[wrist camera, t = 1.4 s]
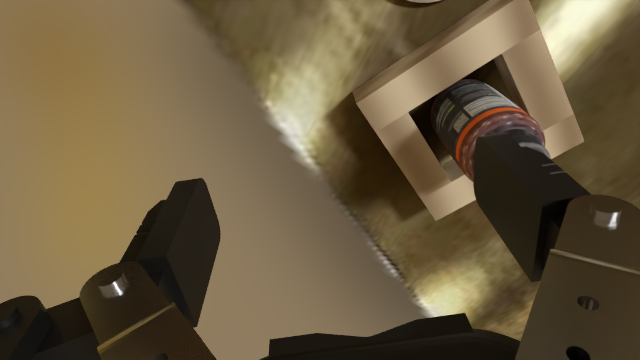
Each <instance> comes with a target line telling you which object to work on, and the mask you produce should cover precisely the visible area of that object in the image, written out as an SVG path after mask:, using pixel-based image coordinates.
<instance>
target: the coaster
mask: <svg viewBox="0 0 640 360" xmlns="http://www.w3.org/2000/svg"><path fill="white" fill-rule="evenodd" d="M408 1H411V2H418V3H430V2H436V1H440V0H408Z"/></svg>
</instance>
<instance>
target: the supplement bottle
mask: <svg viewBox="0 0 640 360" xmlns="http://www.w3.org/2000/svg"><path fill="white" fill-rule="evenodd" d="M430 121H431V125H432V128H433V130H434V132H435V133H436V135H437V137H438V138H439V139H440V141H441V142H442V143H443V145H444V146H445V148H446V149H447V151H448V152H449V153H450V155H451V156H452V157H453V159H454V160H455V162H456V163H457V165H458V166H459V168H460V169H461V170H462V171H463V173H464V174H465V175H466V176H467V177H468V178H469V179H470V180H471V181H472V182H473V181H474V158H475V142H476V139H477V138H478V137H480V136H486V135H493V134H500V133H507V134H508V135H509V136H510V137H511V138H512V139H513V140H515V141H516V142H517V143H518V144H519V145H520V146H521V147H526V146H527V147H529V148H532V149H534V150H537V151H539V152H541V153H544V154H545V155H546V156H547V157H548V158H550V159H551V157H550V154H549V152H548V150H547V149H546V148H545V142H546V141H545V135H544V132H543V130H542V128H541V127H540V125H539V124H538V123H537V121H536V120H535V119H533V118H532V117H531V116H530V115H528V114H527V113H526V112H525V111H524V110H522V109H521V108H520V107H518V106H517V105H516V104H514V103H513V102H511V101H510V100H509V99H507V98H506V97H505V96H503V95H502V94H501V93H499V92H498V91H497V90H495V89H494V88H493V87H491V86H490V85H488V84H487V83H484V82H483V81H480V80H477V79H464V80H459V81H457V82H455V83H454V84H452V85H451V86H449V87H447V88H446V89H444V90H443V91H441V92H440V93H439V94H438V96H437V97H436V99H435V100H434V102H433V105H432V108H431V112H430Z"/></svg>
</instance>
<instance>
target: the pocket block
mask: <svg viewBox="0 0 640 360" xmlns="http://www.w3.org/2000/svg"><path fill="white" fill-rule="evenodd" d="M492 59H493V60H494V62H495V64H496V66H497V68H498V70H499V73H500V75H501V77H502V79H503V81H504V83H505V85H506V87H507V90H508V92H509V94H510V96H511V98H512V100H513V102H514V104H516V105H517V106H518V107H520V108H521V109H522V110H524V111H525V112H526V113H527V114H528V115H530V116H531V117H532V118H533V119H535V120H536V121H537V123H538V124H539V125H540V127H541V128H542V130H543V132H544V135H545V141H546V142H545V148H546V149H547V150H548V152H549V154H550V157H551V159H552V158H554V157H556V156H558V155H560V154H561V153H563V152H565V151H567V150H569V149H571V148H573V147H574V146H576V145H578V144H580V143H582V142H584V139H583V136H582V134H581V131H580V129H579V126H578V124H577V121H576V118H575V116H574V113H573V111H572V108H571V106H570V103H569V101H568V98H567V96H566V93H565V91H564V88H563V86H562V83H561V80H560V78H559V75H558V73H557V70H556V68H555V65H554V63H553V60H552V58H551V55H550V53H549V50H548V47H547V45H546V42H545V40H544V37H543V35H542V32H541V30H540V27H539V25H538V22H537V20H536V17H535V14H534V12H533V9H532V7H531V4H530V2H529V0H489V1H487V2H486V3H484V4H483V5H481V6H480V7H478V8H477V9H475V10H474V11H472V12H471V13H469V14H468V15H466V16H465V17H463V18H462V19H460V20H459V21H457V22H456V23H454V24H453V25H451V26H450V27H448V28H447V29H445V30H444V31H442V32H441V33H439V34H438V35H436V36H435V37H433V38H432V39H430V40H429V41H427V42H426V43H424V44H423V45H421V46H420V47H418V48H417V49H415V50H414V51H412V52H411V53H409V54H408V55H406V56H405V57H403V58H402V59H400V60H399V61H397V62H396V63H394V64H393V65H391V66H390V67H388V68H387V69H385V70H384V71H382V72H381V73H379V74H378V75H376V76H375V77H373V78H372V79H370V80H369V81H367V82H366V83H364V84H363V85H361V86H360V87H358V88H357V89H355V90H354V91H352V93H353V96H354V99H355V102H356V104H357V106H358V107H359V109H360V110H361V112H362V113H363V114H364V116H365V117H366V119H367V120H368V122H369V123H370V125H371V126H372V128H373V129H374V131H375V132H376V134H377V135H378V137H379V138H380V139H381V141H382V142H383V144H384V145H385V147H386V148H387V150H388V151H389V153H390V154H391V156H392V157H393V159H394V160H395V162H396V163H397V165H398V166H399V167H400V169H401V170H402V172H403V173H404V175H405V176H406V178H407V179H408V181H409V182H410V184H411V185H412V187H413V188H414V190H415V191H416V192H417V194H418V195H419V197H420V198H421V200H422V201H423V203H424V204H425V206H426V207H427V209H428V210H429V212H430V213H431V215H432V216H433V217H434V219H435V220H436V221H437V220H439V219H440V218H442V217H444V216H446V215H448V214H450V213H452V212H454V211H455V210H457V209H459V208H461V207H463V206H465V205H467V204H468V203H470V202H472V201H474V200H476V198H475V194H474V187H473V182H472V181H471V180H470V179H469V178H468V177H467V176H466V175H465V174H464V173H463V171H462V170H461V169H460V168H459V166H458V165H457V163H456V162H455V160H454V159H453V160H451V161H449V162H447V163H446V164H444V165H442V166H441V165H440V163H439V162H438V160H437V158H436V157H435V155H434V153H433V152H432V150H431V149H430V147H429V145H428V144H427V142H426V141H425V139H424V137H423V136H422V134H421V132H420V131H419V129H418V128H417V126H416V124H415V123H414V121H413V119H412V118H411V116H410V115H409V113H408V112H409V111H411V110H412V109H414V108H415V107H417V106H419V105H420V104H422V103H423V102H425V101H427V100H428V99H430V98H431V97H433V96H435V95H436V94H438V93H439V92H441V91H443V90H444V89H446V88H447V87H449V86H451V85H452V84H454V83H455V82H457V81H459V80H460V79H462V78H463V77H465V76H466V75H468V74H470V73H471V72H473V71H474V70H476V69H478V68H479V67H481V66H482V65H484V64H486V63H487V62H489V61H490V60H492Z"/></svg>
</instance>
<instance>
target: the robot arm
mask: <svg viewBox="0 0 640 360" xmlns="http://www.w3.org/2000/svg"><path fill="white" fill-rule="evenodd" d="M473 187H474V194H475V198H476V201H477V203H478V205H479V206H480V208H481V209H482V211H483V212H484V214H485V215H486V217H487V218H488V219H489V221H490V222H491V224H492V225H493V227H494V228H495V230H496V231H497V233H498V234H499V236H500V237H501V238H502V240H503V241H504V243H505V244H506V246H507V247H508V249H509V250H510V252H511V253H512V255H513V256H514V257H515V259H516V260H517V262H518V263H519V265H520V266H521V268H522V269H523V271H524V272H525V274H526V275H527V276H528V278H529V279H530V281H531V282H535V281H540V283H539V286H538V289H537V293H536V296H535V299H534V302H533V305H532V308H531V311H530V314H529V317H528V320H527V323H526V327H525V330H524V333H523V336H522V339H521V342H520V341H518V340H516V339H513V338H511V337H508V336H505V335H502V334H499V333H495V332H492V331H486V330H481V329H473V328H472V327H471V325H470V323H469V321H468V318H467V316H466V314H465V313H461V314H454V315H447V316H439V317H432V318H425V319H417V320H414V321H412V322H409V323H406V324H403V325H401V326H398V327H395V328H393V329H390V330H387V331H385V332H382V333H379V334H376V335H374V336H371V337H356V336H345V335H334V334H321V333H314V334H307V335H300V336H292V337H285V338H278V339H270V344H269V356H267V357H264V358H262V359H260V360H640V209H638V208H637V207H636V206H634V205H633V204H631V203H629V202H627V201H625V200H622V199H619V198H616V197H611V196H606V195H591V194H590V193H589V192H588V191H587V190H586V189H584V188H583V187H582V186H581V185H580V184H579V183H577V182H576V181H575V180H574V179H573V178H572V177H570V176H569V175H568V174H567V173H566V172H565V173H564V172H563V170H562V169H561V168H560V167H559V166H558V165H555V164H554V162H553V161H552V160H551V159H550V158H548V157H547V156H546V155H545V154H544V153H541V152H539V151H537V150H534V149H532V148H529V147H527V146H526V147H521V146H520V145H519V144H518V143H517V142H516V141H515V140H513V139H512V138H511V137H510V136H509V135H508V134H507V133H500V134H493V135H486V136H480V137H478V138H477V139H476V142H475V158H474V181H473ZM219 242H220V226H219V221H218V219H217V215H216V213H215V209H214V206H213V203H212V200H211V197H210V194H209V191H208V188H207V185H206V183H205V181H204V180H203V179H202V178H199V179H192V180H186V181H178V182H176V183H175V184H174V186H173V188H172V190H171V192H170V194H169V196H168V198H167V199H166V200H161V201H160V202H159V203H158V204H156V205H155V206H154V207H153V208H152V209H151V210H150V211H148V213H147V215H146V217H145V218H144V220H143V222H142V225H140V227H139V229H138V231H137V235H135V236H134V238H133V239H132V241H131V243H130V245H129V247H128V248H127V250H126V252H125V254H124V255H123V257H122V259H121V261H120V262H119V263H117V264H114V265H111V266H109V267H107V268H104V269H103V270H101V271H99V272H98V273H96V274H95V275H93V276H92V277H91V278H90V279H89V280H88V281H87V282H86V283H85V284H84V286H83V287H82V289H81V291H80V297H79V298H77V299H74V300H71V301H68V302H65V303H62V304H60V305H57V306H54V307H52V308H48V309H45V307H44V306H43V304H42V303H41V301H40V300H39V299H38V298H37V297H35V296H20V297H16V298H13V299H10V300H8V301H6V302H3V303H1V304H0V360H216V358H215V357H214V356H213V354H212V353H211V352H210V350H209V349H208V347H207V346H206V345H205V343H204V342H203V341H202V339H201V338H200V337H199V335H198V334H197V333H196V331H195V330H194V329H193V327H197V325H198V321H199V317H200V313H201V310H202V305H203V302H204V298H205V295H206V291H207V287H208V283H209V280H210V276H211V272H212V269H213V265H214V261H215V257H216V254H217V250H218V246H219Z"/></svg>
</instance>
